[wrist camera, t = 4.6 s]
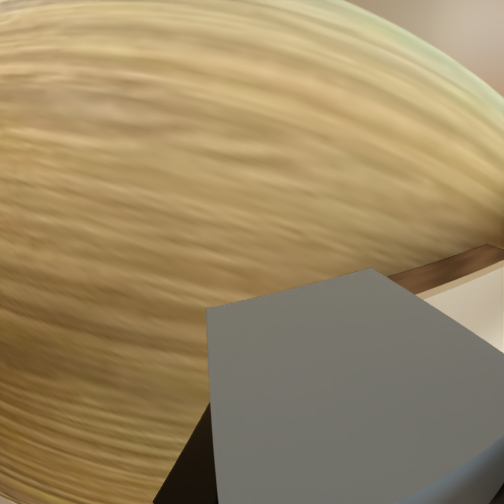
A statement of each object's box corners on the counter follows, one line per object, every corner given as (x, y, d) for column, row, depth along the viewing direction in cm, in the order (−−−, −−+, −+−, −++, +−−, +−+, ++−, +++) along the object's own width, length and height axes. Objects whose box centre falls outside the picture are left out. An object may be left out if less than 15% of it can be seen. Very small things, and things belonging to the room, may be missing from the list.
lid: (520, 252, 17) (551, 263, 14) (487, 412, 21) (505, 429, 18) (362, 312, 16) (391, 340, 13) (359, 478, 20) (373, 505, 17)
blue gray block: (370, 267, 8) (554, 389, 2) (373, 391, 9) (472, 524, 4) (206, 308, 8) (224, 549, 2) (243, 430, 9) (280, 602, 3)
